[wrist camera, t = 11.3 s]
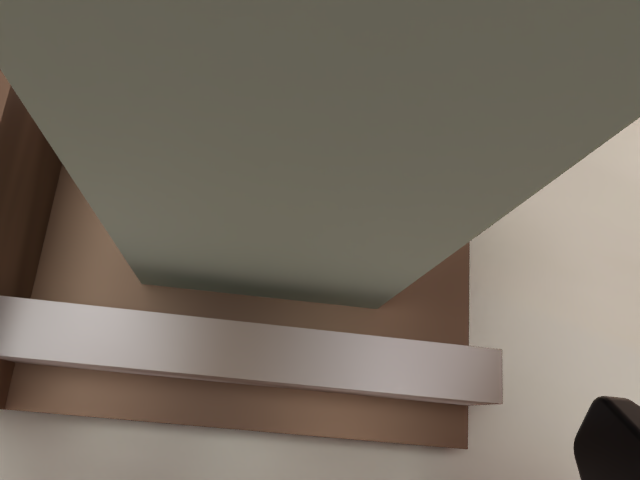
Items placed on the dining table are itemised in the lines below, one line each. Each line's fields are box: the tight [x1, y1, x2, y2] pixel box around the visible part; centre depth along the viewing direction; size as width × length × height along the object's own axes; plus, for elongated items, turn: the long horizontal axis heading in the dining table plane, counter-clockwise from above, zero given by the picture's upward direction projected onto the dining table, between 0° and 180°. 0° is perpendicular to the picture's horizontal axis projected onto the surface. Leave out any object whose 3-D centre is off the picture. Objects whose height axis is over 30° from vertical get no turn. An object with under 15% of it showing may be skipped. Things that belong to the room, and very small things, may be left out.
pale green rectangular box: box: [0, 0, 640, 309], centre depth 9 cm, size 6×2×13 cm, turn 86°
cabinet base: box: [0, 70, 503, 449], centre depth 14 cm, size 12×9×5 cm
